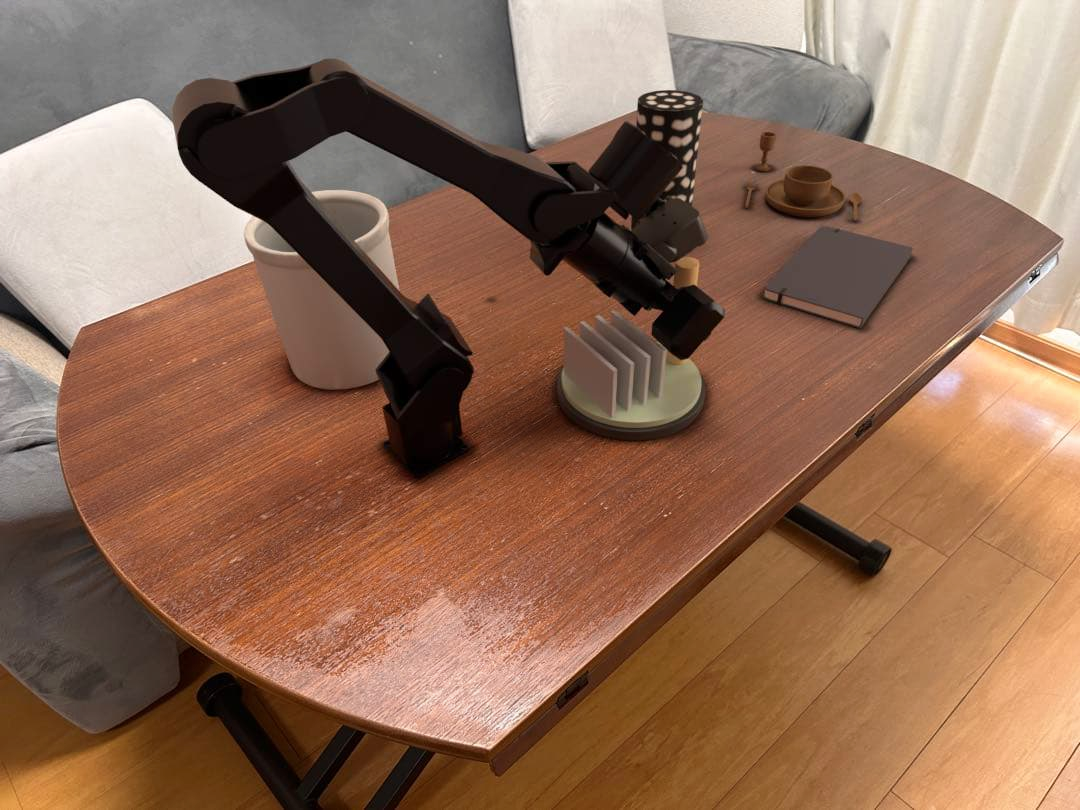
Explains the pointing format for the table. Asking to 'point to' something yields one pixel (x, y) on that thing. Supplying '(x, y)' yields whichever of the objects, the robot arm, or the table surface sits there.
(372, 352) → the utensil holder
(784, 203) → the place setting
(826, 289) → the notebook
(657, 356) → the dish rack
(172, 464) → the table surface
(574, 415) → the turntable base
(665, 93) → the white-spotted black cylinder
